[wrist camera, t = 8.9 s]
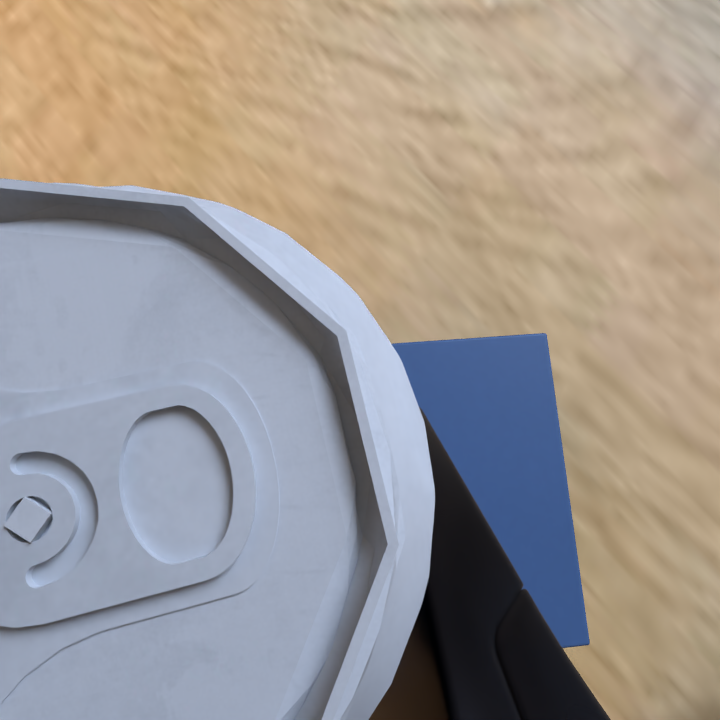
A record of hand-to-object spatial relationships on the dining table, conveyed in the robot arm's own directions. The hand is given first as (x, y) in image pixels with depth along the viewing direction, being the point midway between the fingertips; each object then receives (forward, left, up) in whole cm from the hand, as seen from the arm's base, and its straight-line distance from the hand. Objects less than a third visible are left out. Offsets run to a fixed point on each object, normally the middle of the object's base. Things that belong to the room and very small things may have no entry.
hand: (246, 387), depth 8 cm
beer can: (-1, +1, -7) cm, 7 cm away
